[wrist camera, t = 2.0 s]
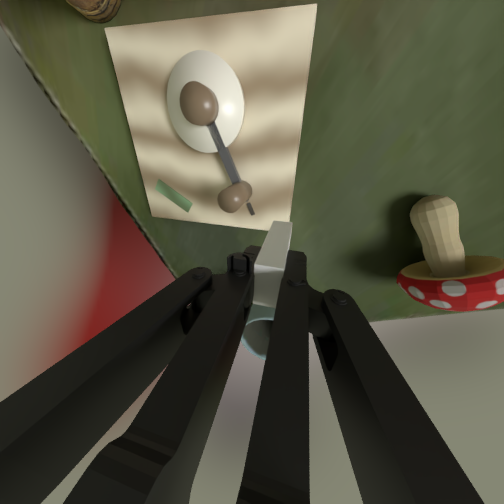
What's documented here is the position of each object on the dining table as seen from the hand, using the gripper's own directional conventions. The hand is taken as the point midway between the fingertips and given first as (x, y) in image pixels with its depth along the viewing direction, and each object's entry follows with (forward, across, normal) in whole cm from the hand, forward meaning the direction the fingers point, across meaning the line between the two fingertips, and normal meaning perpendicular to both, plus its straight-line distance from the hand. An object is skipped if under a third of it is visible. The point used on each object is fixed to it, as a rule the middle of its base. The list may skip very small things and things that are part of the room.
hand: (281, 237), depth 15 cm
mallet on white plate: (+14, -11, +7) cm, 19 cm away
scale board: (+16, -13, +6) cm, 21 cm away
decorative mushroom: (+16, +20, -5) cm, 27 cm away
